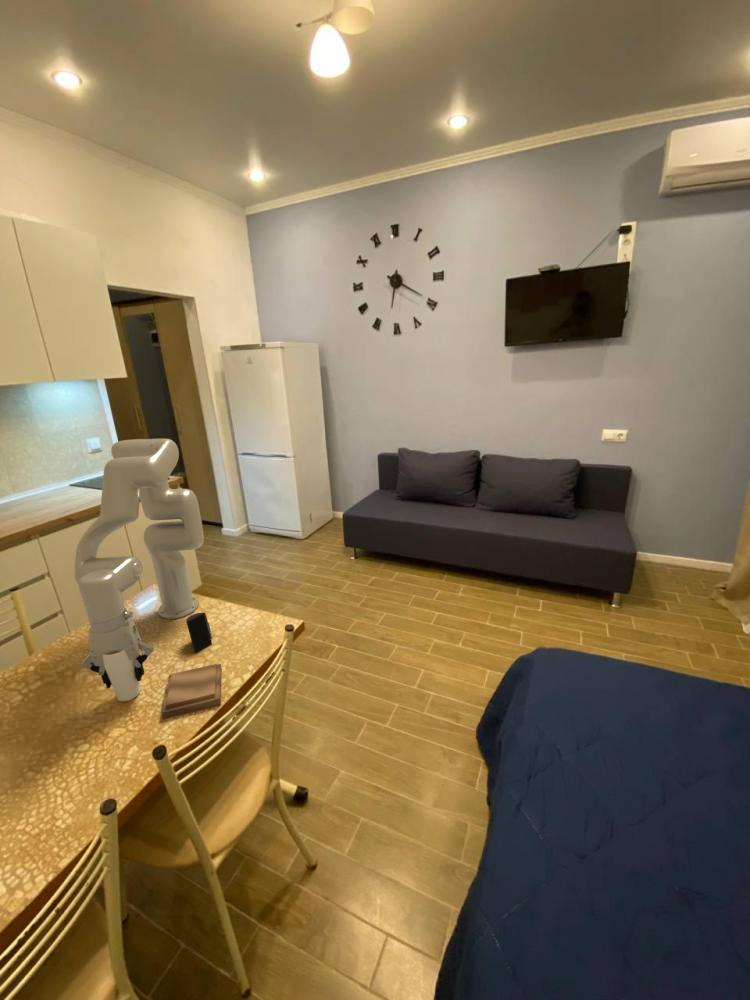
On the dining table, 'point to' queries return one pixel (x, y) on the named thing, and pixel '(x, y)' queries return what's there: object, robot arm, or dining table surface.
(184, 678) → the pedestal
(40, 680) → the dining table surface
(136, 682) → the drinking glass
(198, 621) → the speaker
